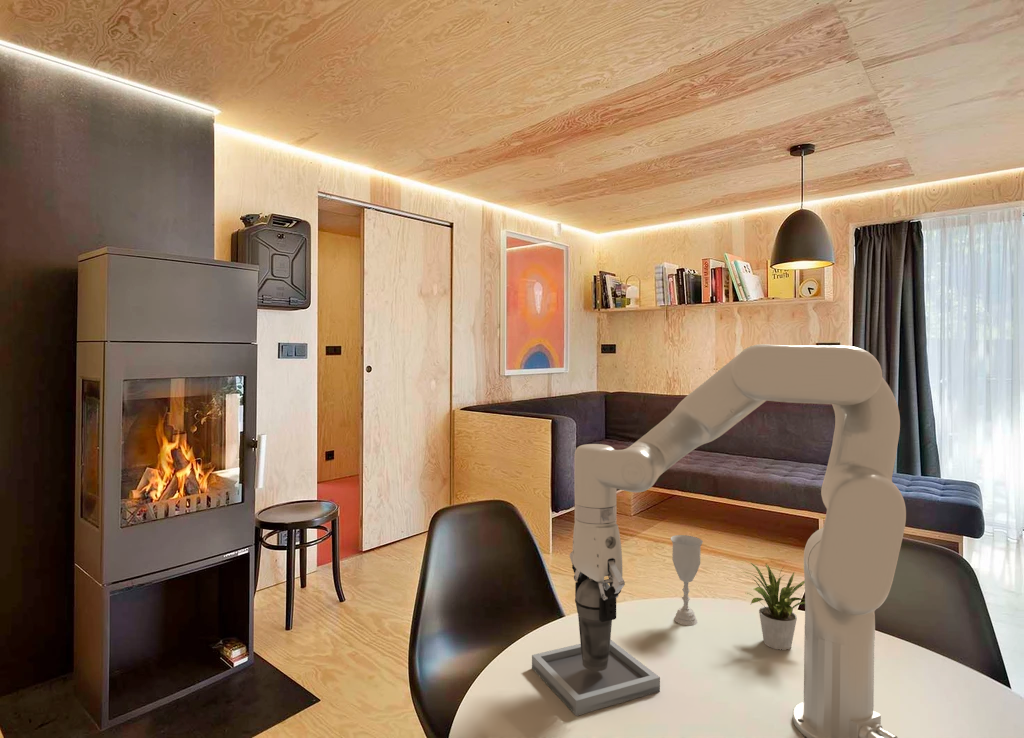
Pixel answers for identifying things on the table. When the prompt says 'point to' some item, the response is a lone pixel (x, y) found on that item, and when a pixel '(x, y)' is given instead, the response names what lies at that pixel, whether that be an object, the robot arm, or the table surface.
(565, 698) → the tray
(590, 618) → the beverage cup
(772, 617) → the house plant
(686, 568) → the chalice
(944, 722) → the table surface
